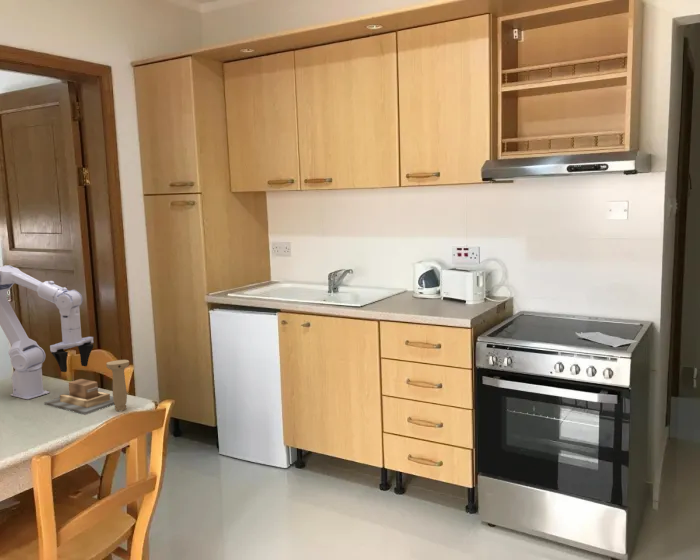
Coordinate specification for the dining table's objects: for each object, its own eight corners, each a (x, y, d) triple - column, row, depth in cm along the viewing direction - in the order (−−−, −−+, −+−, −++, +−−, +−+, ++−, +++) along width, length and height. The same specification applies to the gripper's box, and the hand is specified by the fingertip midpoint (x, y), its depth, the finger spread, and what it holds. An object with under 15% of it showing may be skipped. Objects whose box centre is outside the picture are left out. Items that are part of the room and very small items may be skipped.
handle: (108, 409, 189) (105, 362, 187) (129, 405, 192) (127, 359, 190) (111, 414, 185) (108, 365, 183) (133, 410, 188) (130, 362, 186)
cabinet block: (69, 400, 196) (68, 382, 195) (82, 396, 200) (81, 378, 199) (87, 404, 191) (86, 386, 190) (100, 400, 195) (98, 382, 194)
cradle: (44, 404, 195) (43, 395, 194) (83, 392, 207) (82, 384, 206) (85, 414, 185) (84, 405, 184) (123, 401, 197) (122, 392, 196)
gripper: (58, 333, 191) (62, 375, 193) (98, 325, 204) (101, 364, 205) (44, 331, 195) (48, 373, 196) (84, 323, 207) (87, 362, 209)
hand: (74, 368), depth 201 cm, fingers open, 7 cm apart
